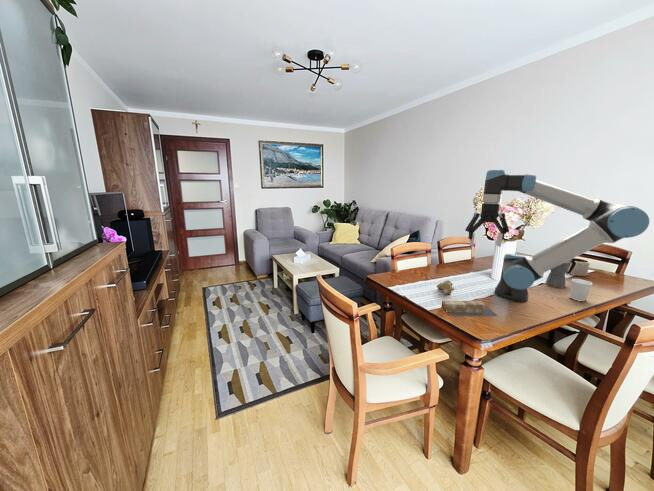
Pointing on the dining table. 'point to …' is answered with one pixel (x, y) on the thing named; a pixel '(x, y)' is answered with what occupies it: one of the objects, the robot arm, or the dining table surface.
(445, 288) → the turtle figurine
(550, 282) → the coffeepot
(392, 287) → the dining table surface
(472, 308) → the wooden block
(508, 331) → the dining table surface
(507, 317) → the dining table surface
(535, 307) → the dining table surface
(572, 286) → the white cup
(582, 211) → the robot arm
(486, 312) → the rubber mat
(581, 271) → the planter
